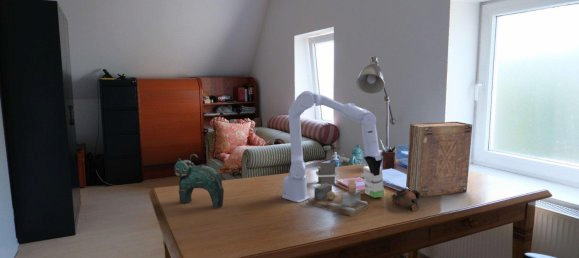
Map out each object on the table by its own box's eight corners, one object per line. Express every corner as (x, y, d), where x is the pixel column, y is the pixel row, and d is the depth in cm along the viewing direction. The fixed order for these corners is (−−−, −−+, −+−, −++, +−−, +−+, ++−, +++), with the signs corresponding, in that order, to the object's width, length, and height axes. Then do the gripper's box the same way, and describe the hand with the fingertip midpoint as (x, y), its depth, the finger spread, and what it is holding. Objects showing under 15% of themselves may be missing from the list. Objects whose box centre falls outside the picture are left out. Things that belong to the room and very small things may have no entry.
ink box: (384, 196, 158) (382, 168, 156) (373, 198, 156) (371, 170, 155) (374, 191, 166) (373, 164, 165) (364, 193, 165) (362, 166, 163)
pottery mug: (410, 215, 141) (400, 195, 142) (394, 218, 149) (384, 199, 150) (430, 201, 147) (420, 182, 148) (413, 204, 155) (403, 186, 156)
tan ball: (324, 200, 151) (325, 191, 150) (329, 197, 153) (330, 189, 153) (332, 202, 149) (332, 193, 148) (337, 199, 151) (337, 191, 151)
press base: (308, 203, 151) (308, 187, 150) (325, 196, 160) (325, 181, 159) (352, 216, 138) (352, 199, 137) (368, 207, 148) (368, 191, 146)
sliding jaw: (342, 206, 143) (343, 182, 142) (353, 201, 149) (354, 178, 148) (349, 208, 141) (350, 184, 140) (359, 203, 147) (360, 179, 146)
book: (419, 197, 160) (423, 126, 155) (405, 190, 168) (409, 123, 164) (467, 191, 168) (472, 124, 163) (451, 185, 177) (456, 121, 172)
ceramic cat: (174, 203, 150) (172, 153, 147) (184, 198, 156) (182, 150, 153) (218, 210, 143) (217, 158, 140) (226, 204, 149) (226, 154, 146)
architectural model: (310, 190, 168) (310, 166, 167) (302, 180, 185) (303, 157, 183) (350, 189, 171) (351, 165, 170) (339, 178, 188) (340, 156, 186)
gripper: (386, 142, 145) (391, 176, 147) (374, 136, 159) (378, 168, 161) (368, 145, 144) (373, 180, 146) (358, 139, 158) (362, 171, 160)
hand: (375, 174), depth 153 cm, fingers open, 3 cm apart
